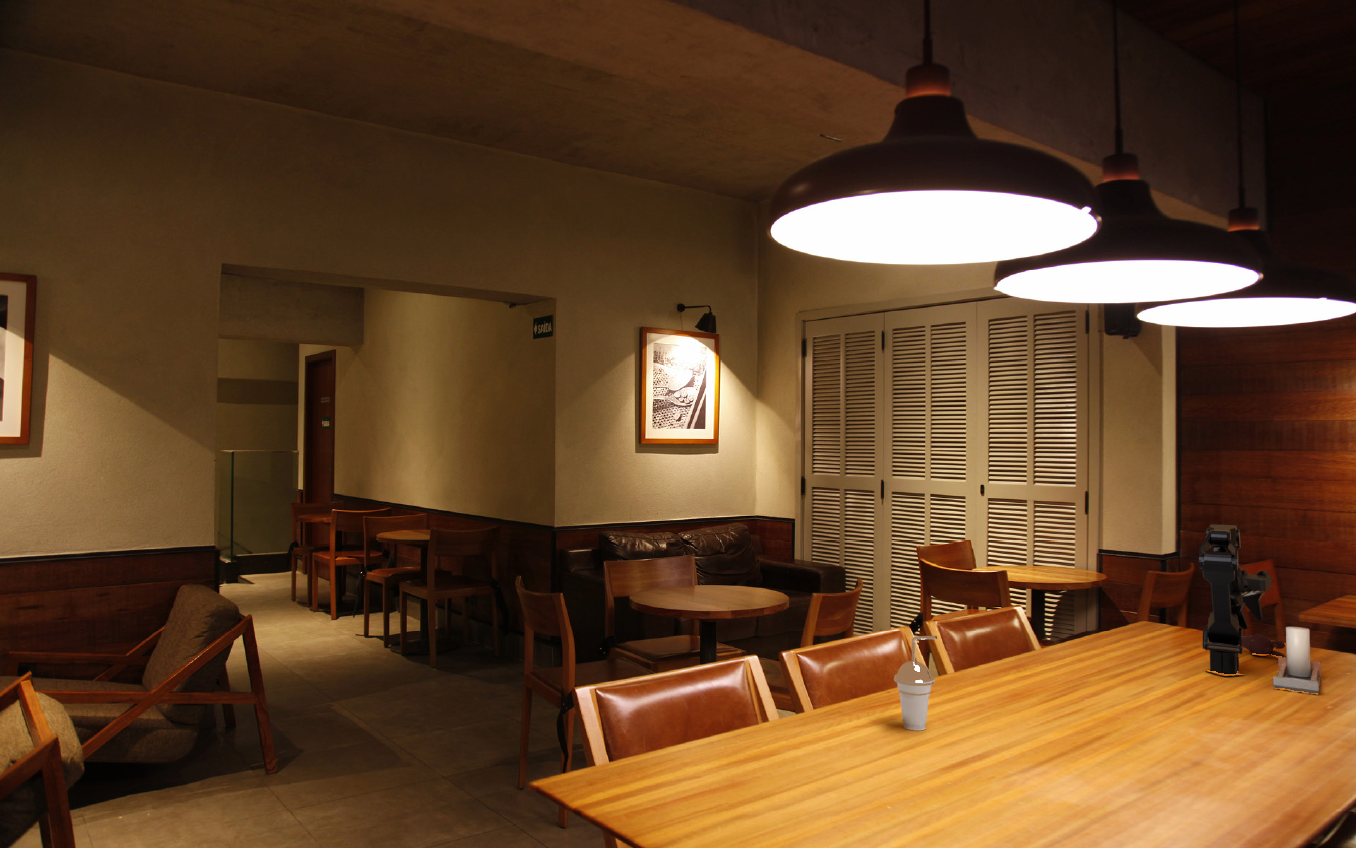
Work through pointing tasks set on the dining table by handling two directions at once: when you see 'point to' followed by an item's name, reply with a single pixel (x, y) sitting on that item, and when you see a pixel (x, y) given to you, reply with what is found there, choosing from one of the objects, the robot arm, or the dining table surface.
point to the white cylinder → (1298, 651)
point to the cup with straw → (914, 690)
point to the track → (1298, 678)
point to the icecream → (1262, 645)
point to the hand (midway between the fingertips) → (1253, 624)
